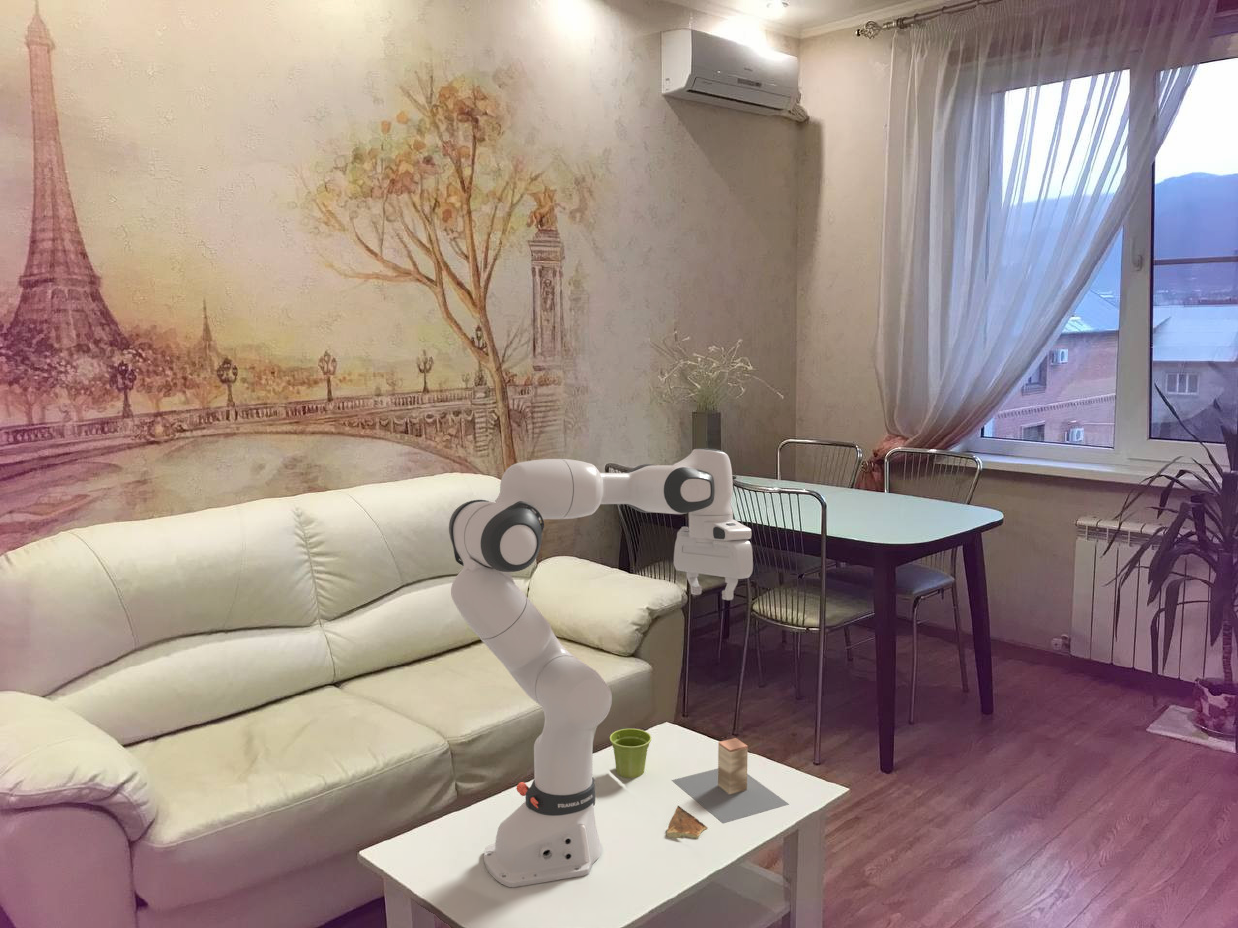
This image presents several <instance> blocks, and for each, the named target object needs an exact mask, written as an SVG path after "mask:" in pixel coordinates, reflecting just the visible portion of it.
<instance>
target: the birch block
mask: <svg viewBox="0 0 1238 928" xmlns="http://www.w3.org/2000/svg"><path fill="white" fill-rule="evenodd" d="M748 747H749V746H748V745H747V744H746V743H744V742H743V741H741V740H740V739H739V738H737V737H734V738H729V739H726V740H722V741H718V747H717V748H718V751H717V752H718V753H717V756H718V757H717V758H718V759H717V760H718V761H717V763H718V764H717V768H718V786H719V787H721V788H722V789H723V790H725V791H726V792H727V793H728V794H733V793H737V792H740V791H744V790H747V774H748V757H749V756H748V753H749V748H748Z"/></svg>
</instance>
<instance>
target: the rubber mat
mask: <svg viewBox="0 0 1238 928" xmlns="http://www.w3.org/2000/svg"><path fill="white" fill-rule="evenodd" d="M671 782H673V783H674V784H675V785H677V786H678V787H679V788H680V789H681V790H682V791H683V792H685V793H686V794H687V795H688V796H689V797H691V798H692V799H693V800H695V802H697V803H698V804H699V805H701V807H702V808H704V809H705V810H706V811H707V812H709V813H710V814H711V815H712V816H714V817H715V818H716V819H717V820H718V821H719V822H721V823H722V824H726V823H730V822H733V821H736V820H739V819H743V818H747V817H750V816H754V815H757V814H760V813H764V812H767V811H771V810H774V809H778V808H781V807H784V806H788V805H790V803H789V802H787V801H786V800H784V799H783V798H782V797H780V796H779V795H777V794H776V793H774V791H772V790H771V789H769V788H768V787H766V786H765V785H764V784H762V783H761V782H759V781H758V780H756V779H755V778H754V777H753V776H751V775H750V774H748V773H747V790H744V791H740V792H737V793H733V794H728V793H727V792H726V791H725V790H723V789H722V788H721V787H719V786H718V767H717V768H715V769H710V770H706V771H702V772H699V773H695V774H692V775H687V776H683V777H682V776H681V777H679V778H675V779H671Z"/></svg>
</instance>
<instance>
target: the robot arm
mask: <svg viewBox="0 0 1238 928" xmlns="http://www.w3.org/2000/svg"><path fill="white" fill-rule="evenodd" d="M731 463H732V462H731V460H730V457H729V455H728V454H727V453H726V452H724V451H723V450H719V449H716V448H708V447H707V448H706V447H698V448H695V449H693V450H692V451H691V453H689V454H688V455H687V456H686V457H685V458H683V459H682V460H679V461H677V462H676V463H673V464H672V465H671V464H670V465H668V464H666V465H663V464H662V465H661V464H660V465H657V464H650V463H646V464H645V463H643V464H640V465H637V466H636V467H634V468H631V469H629V470H627V471H626V472H600V470H599V469H598V468H597V466H595V465H594V464H593V463H590V462H585V461H581V460H577V459H570V458H542V459H541V458H540V459H533V460H525V461H521V462H520V461H519V462H517V463H513V464H512V465H510V466H508V468H507V469H506V470H505V471H504V473H503V474H502V477H501V479H500V483H499V493H498V496H497V498H495V500H494V501H489V500H485V499H474V500H470V501H466V502H464V503H462V504H461V505H459V506H458V507H456V509H454V511H453V512H452V514H451V516H450V518H449V521H448V522H449V523H448V533H449V538H450V541H451V544H452V548H453V555H454V559H455V562H456V563H458V564H459V565H460V566H462V567H463V568H462V569H461V570H460V572H459V573H458V574H457V575H456V577H455V578H454V580H453V582H452V584H451V587H450V595H451V599H452V602H453V603H454V605H455V607H456V608H457V611H459V614H460V615H461V616H462V618H463V620H464V621H465V622H466V623H467V625H468V626H469V628H470V629H471V630H472V631H473V632H474V634H475V635H476V636H477V637H478V638H479V639H480V640H481V642H482V643H483V644H484V645H485V646H486V647H487V648H488V650H490V652H491V653H492V654H493V655H494V656H495V658H497V660H499V661H500V663H501V664H502V665H503V666H504V667H505V669H506V670H507V671H508V673H509V674H510V675H511V677H512V678H513V679H514V681H515V682H516V683H517V684H518V686H520V688H521V689H522V691H523V692H524V693H525V694H526V695H527V696H528V697H529V698H530V699H531V700H532V701H534V702H535V703H536V704H537V705H539V706H540V707H541V708H542V711H543V714H544V724H543V729H542V732H541V734H540V735H539V736H537V738H536V739H535V742H534V745H533V756H534V757H533V762H534V763H533V765H534V768H533V770H534V771H533V772H534V774H533V775H534V779H533V781H532V782H531V785H530V786H528V785H527V783H525V782H524V781H522V782H519V783H518V784H517V785H516V788H515V789H516V791H517V793H519V795H520V796H522V797H525V801H524V802H523V803H522V804H521V805H520V806H519V807H517V808H516V809H515V810H514V811H513V812H512V813H511V814H510V815H509V816H508V817H506V818H505V819H504V820H503V821H502V822H500V824H499V826H498V827H497V832H496V836H495V842H494V843H492V844H490V845H487V846H486V847H485V849H484V851H483V862H484V863H483V864H484V866H485V868H486V869H487V872H488V873H489V874H490V876H492V877H493V879H494V880H496V881H497V882H498V883H500V884H502V885H504V886H506V887H510V888H517V887H522V886H528V885H535V884H541V883H546V882H552V881H558V880H565V879H570V878H576V877H583V876H586V875H588V874H589V873H590V871H591V869H592V865H593V864H594V863H595V862H596V861H597V860H598V859H599V857H600V856H601V854H602V850H603V846H602V843H601V841H600V838H599V834H598V833H599V832H598V827H597V823H596V817H595V816H596V815H595V805H596V785H595V784H596V783H595V778H594V777H593V750H594V749H593V748H594V747H593V746H594V738H595V735H596V731H597V727H598V726H599V725H600V724H601V723H602V722H603V721H605V719H606V717H608V715H609V713H610V710H611V707H612V702H613V698H612V697H613V696H612V691H611V689H610V686H609V685H608V684H607V682H606V681H605V680H604V678H603V677H602V676H601V675H600V674H599V672H598V671H597V670H596V669H593V668H592V667H591V666H589V665H587V664H586V663H585V662H583V661H582V660H580V659H579V658H577V657H576V656H575V655H573V654H572V653H571V652H570V651H568V650H567V648H565V647H564V646H563V645H562V643H561V642H560V640H559V639H558V638H557V636H556V635H555V633H554V631H553V629H552V625H551V623H549V621H548V620H547V619H546V618H545V617H544V615H543V614H542V613H541V612H540V611H539V609H538V608H537V607H536V606H535V605H534V604H533V602H532V601H531V600H530V599H529V597H527V595H526V594H525V593H524V592H523V591H522V590H521V589H520V588H519V586H518V585H516V583H515V581H514V579H513V576H512V573H515V572H520V571H524V570H525V569H527V568H529V567H530V566H532V564H533V563H534V562H535V560H536V559H537V558H538V555H539V553H540V550H541V546H542V542H543V541H542V539H543V538H542V537H543V532H544V531H543V530H544V528H545V521H544V520H571V519H578V518H583V517H587V516H591V515H593V514H594V513H596V511H597V510H598V509H599V507H600V506H601V505H626V506H628V507H630V508H632V509H633V510H636V511H637V512H641V513H645V514H653V513H659V514H671V515H684V514H688V519H689V520H688V526H681V528H680V529H678V531H677V533H676V539H675V543H674V551H673V566H674V568H675V571H677V572H678V571H679V572H686V579H687V581H688V583H689V586H690V594H691V595H694V596H695V595H696V596H699V595H702V593H703V592H702V589H703V586H702V585H700V584H699V580H698V577H699V575H707V576H714V577H715V576H716V577H722V578H724V582H725V583H726V586H725V589H723V590H721V594H722V596H721V599H722V600H725V601H733V599H734V591H735V589H736V587H737V585H738V583H739V580H743V579H748V578H750V577H751V575H752V574H753V567H754V561H753V559H754V557H753V556H754V555H753V546H752V543H751V542H750V541H749V540H750V539H752V535H753V534H752V529H751V528H750V527H748V526H746V525H744V524H742V523H740V522H739V521H737V520H736V519H734V512H733V507H732V498H733V497H732V496H733V491H734V489H733V487H734V484H733V482H734V481H733V470H732V464H731Z"/></svg>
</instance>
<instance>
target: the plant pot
mask: <svg viewBox="0 0 1238 928" xmlns="http://www.w3.org/2000/svg"><path fill="white" fill-rule="evenodd" d="M609 741H610V743H611V745H612V748H613V753H614V754H613V756H614V761H615V769H616V774H617V775H619V776H620V777H623V778H628V779H632V778H633V779H634V778H638V777H641V776H642V775H643V774H644V773H645V770H646V769H645V768H646V762H647V756H648V755H647V754H648V749H649V746H650V743H651V741H652V734H650V733H649V732H648V731H646V730H643V729H639V728H622V729H618V730H615V731H614V732H612V733H611V734H610V736H609Z"/></svg>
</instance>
